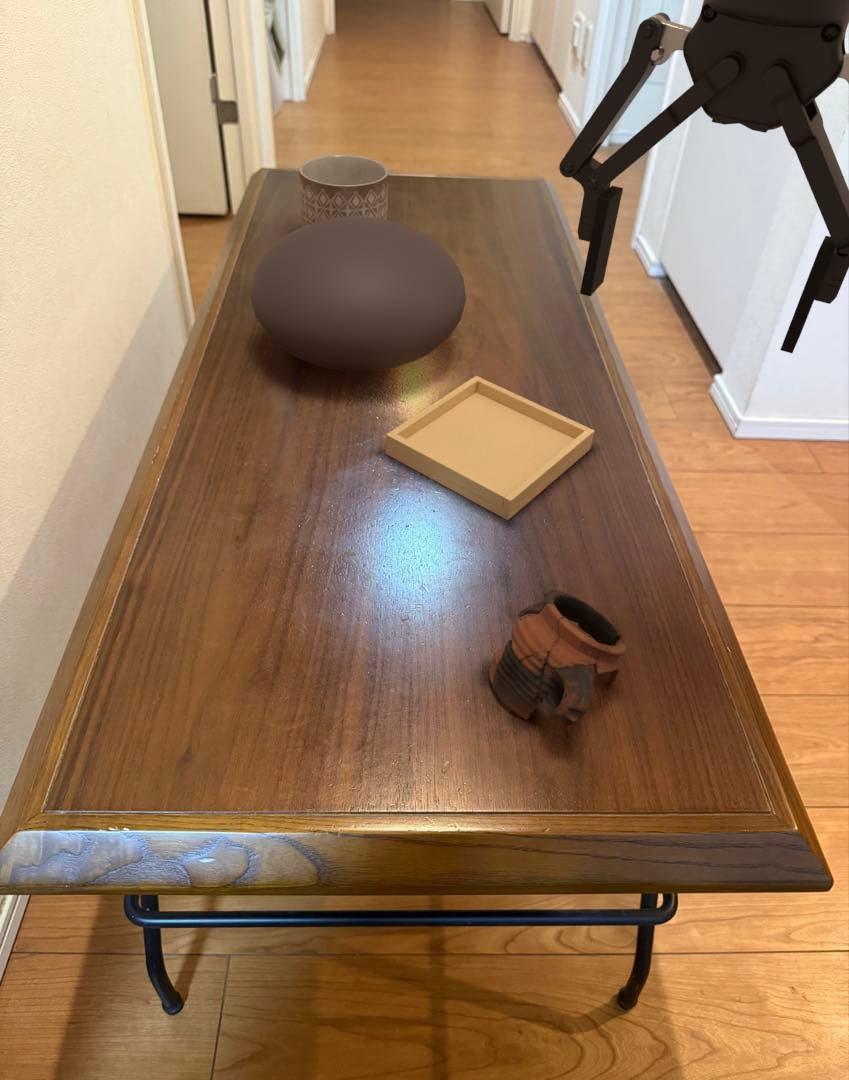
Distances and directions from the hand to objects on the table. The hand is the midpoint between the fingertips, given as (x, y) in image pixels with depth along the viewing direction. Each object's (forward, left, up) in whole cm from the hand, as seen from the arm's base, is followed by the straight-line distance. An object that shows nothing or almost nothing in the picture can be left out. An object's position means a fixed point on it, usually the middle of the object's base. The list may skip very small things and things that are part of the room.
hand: (686, 315), depth 56 cm
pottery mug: (-2, +13, -27) cm, 30 cm away
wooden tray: (+20, -9, -27) cm, 34 cm away
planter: (+67, -37, -27) cm, 81 cm away
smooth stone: (+44, -15, -27) cm, 54 cm away
